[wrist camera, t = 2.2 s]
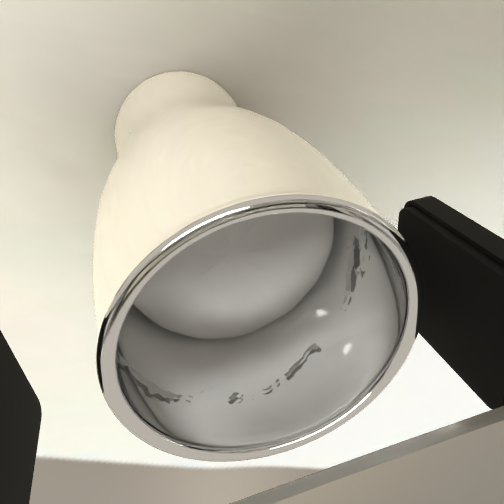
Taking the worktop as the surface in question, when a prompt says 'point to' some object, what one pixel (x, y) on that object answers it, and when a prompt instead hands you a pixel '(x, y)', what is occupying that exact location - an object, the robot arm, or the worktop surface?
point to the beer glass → (240, 280)
